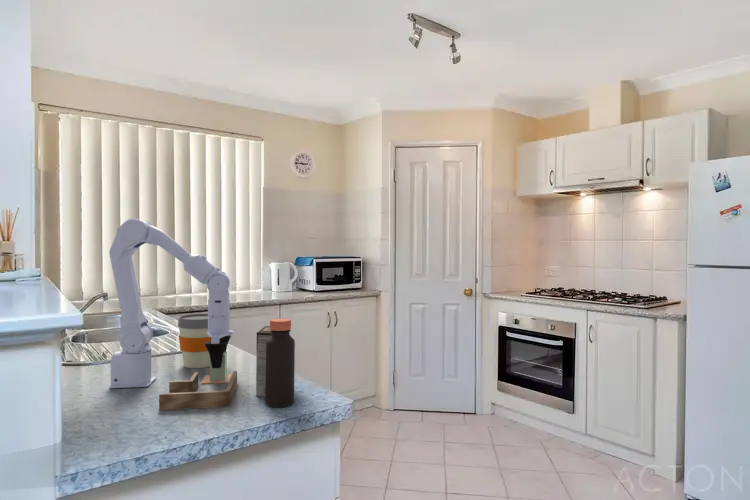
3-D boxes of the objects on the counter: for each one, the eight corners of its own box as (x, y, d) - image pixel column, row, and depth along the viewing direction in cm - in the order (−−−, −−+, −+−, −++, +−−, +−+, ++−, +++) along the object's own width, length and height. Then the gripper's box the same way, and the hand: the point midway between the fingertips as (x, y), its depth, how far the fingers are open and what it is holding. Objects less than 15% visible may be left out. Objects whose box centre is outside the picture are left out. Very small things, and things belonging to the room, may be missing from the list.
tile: (200, 384, 131) (200, 383, 131) (205, 376, 139) (205, 375, 139) (231, 382, 132) (231, 381, 132) (234, 374, 140) (234, 373, 140)
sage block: (209, 380, 133) (209, 355, 133) (211, 376, 137) (212, 351, 137) (224, 380, 134) (224, 354, 134) (226, 376, 138) (226, 351, 138)
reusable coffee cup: (220, 358, 160) (220, 312, 159) (220, 368, 148) (220, 318, 147) (178, 361, 156) (179, 314, 155) (176, 371, 144) (176, 320, 143)
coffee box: (264, 385, 130) (264, 325, 130) (288, 386, 130) (288, 326, 130) (254, 396, 121) (255, 332, 121) (280, 397, 121) (281, 332, 121)
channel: (159, 410, 110) (159, 394, 110) (176, 386, 129) (176, 373, 129) (229, 406, 113) (229, 391, 113) (237, 383, 132) (237, 370, 132)
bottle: (259, 406, 114) (260, 321, 114) (275, 397, 120) (276, 317, 120) (284, 409, 112) (285, 323, 111) (299, 400, 118) (300, 318, 118)
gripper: (230, 319, 129) (230, 370, 129) (236, 311, 143) (235, 357, 143) (203, 320, 127) (202, 371, 128) (211, 312, 142) (210, 358, 142)
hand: (218, 364), depth 135 cm, fingers open, 7 cm apart
